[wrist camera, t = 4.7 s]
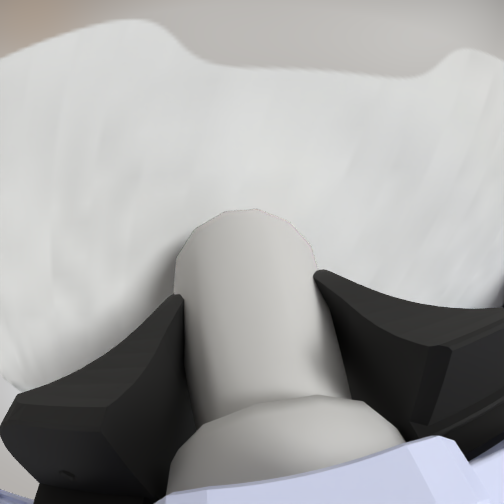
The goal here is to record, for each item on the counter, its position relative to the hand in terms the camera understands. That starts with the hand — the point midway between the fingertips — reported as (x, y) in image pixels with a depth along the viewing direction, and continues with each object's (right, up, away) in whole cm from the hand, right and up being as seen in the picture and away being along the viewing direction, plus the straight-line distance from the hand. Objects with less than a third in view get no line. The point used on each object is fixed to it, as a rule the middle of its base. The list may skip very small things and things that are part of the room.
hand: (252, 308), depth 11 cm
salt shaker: (0, +2, +5) cm, 5 cm away
